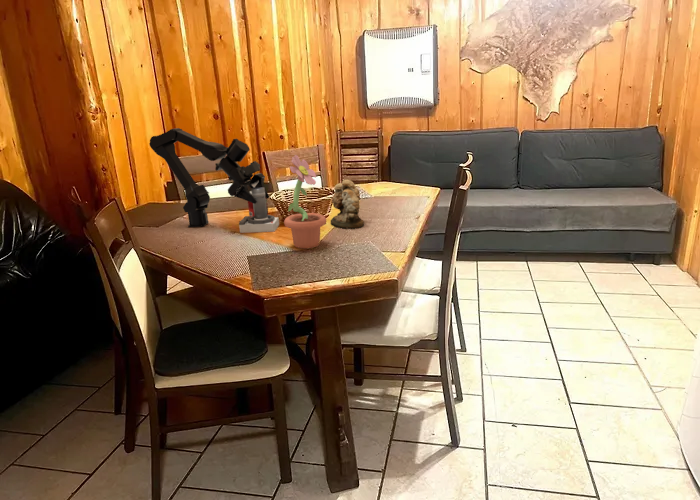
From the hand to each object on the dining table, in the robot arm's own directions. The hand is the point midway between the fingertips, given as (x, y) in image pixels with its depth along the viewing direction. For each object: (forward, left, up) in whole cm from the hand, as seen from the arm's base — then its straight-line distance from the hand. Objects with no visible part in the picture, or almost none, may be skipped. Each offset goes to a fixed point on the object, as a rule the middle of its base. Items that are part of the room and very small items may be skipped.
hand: (262, 200), depth 187 cm
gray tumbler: (-1, 0, -8) cm, 8 cm away
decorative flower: (+19, -25, -11) cm, 33 cm away
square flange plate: (-2, 0, -11) cm, 11 cm away
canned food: (-6, +17, -11) cm, 22 cm away
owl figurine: (+31, +3, -11) cm, 33 cm away
